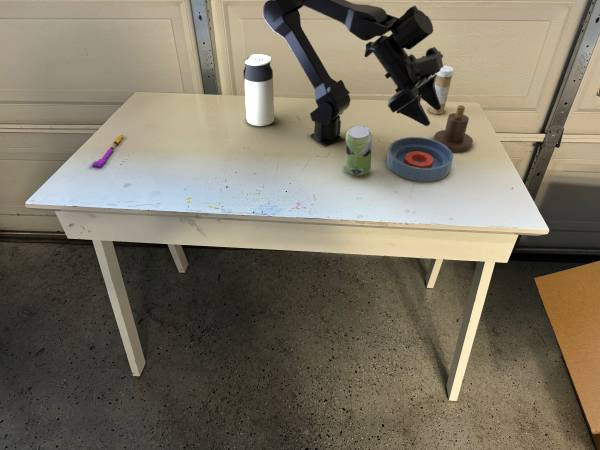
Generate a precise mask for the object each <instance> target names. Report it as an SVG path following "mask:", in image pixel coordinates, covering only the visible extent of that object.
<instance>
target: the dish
mask: <svg viewBox="0 0 600 450" xmlns="http://www.w3.org/2000/svg"><path fill="white" fill-rule="evenodd" d="M414 151H420V152H424V153H428V154H429V155H430V156H431V157H432V158H433V159H434V162H433V165H432V167H431V168H418V167H413V166H409V165H406V164H404V158H405V156H406V155H407V153H409V152H414ZM453 159H454V154H453V152H451V150H450V149H449V148H448V147H447V146H445V145H444V144H442V143H440V142H438V141H435V140H434V139H431V138H426V137H422V136H408V137H407V136H406V137H401V138H399V139H396V140H394V141H393V142H391V143H390V145H389V146H388V149H387V155H386V165H387V167H388V168H389V169H390V171H392V172H393V173H395V174H396V175H398V176H399V177H402V178H405V179H406V180H407V179H408V180H411V181H417V182H432V181H439V180H440V179H443V178H445V177H446V176H447V175H448V174H449V173H450V172H451V168H452V164H453V161H454V160H453ZM414 161H416V162H424V161H421V160H414Z"/></svg>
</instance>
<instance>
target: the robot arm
mask: <svg viewBox="0 0 600 450" xmlns="http://www.w3.org/2000/svg"><path fill="white" fill-rule="evenodd" d="M303 7H306V8H308V9H311V10H312V11H315V12H317V13H319V14H321V15H324V16H326V17H329V19H332V20H334V21H336V22H339V23H341V24H342V25H344V26H345V27H346V29H347V30H348V32H350V34H352V35H354V36H355V37H357V39H359V40H361V41H364V42H366V41H368V42H367V43H366V44H365V50H364V57H365V58H368V57H369V56H370V55H372V54H373V55H374V57H376V59H377V60H378V62H379V63H380V65H381V66H382V68H383V69H384V70H385V72H386V73H385V74H384V77H385V78H386V80H388V79H391V81H392V83H394V85H395V86H396V89H395V90H394V91H395V94H393V95H392V96H391V97H390V99H388V103H387V107H388V108H389V110H390V111H391V112H392V113H393V114H394V113H395V112H396V114H401V115H403V116H405V117H407V118H409V119H411V120H414V121H415V122H417V123H418V124H421V125H423V126H425V127H428V126H430V125H431V121H430V119H429V117H428V115H427V113H426V111H425V110H424V107H423V105H422V104H421V99H422V101H424V102H425V103H426V104H428V105H429V106H432V107H433V108H434V109H436V110H439V109H441V105H440V102H439V99H438V96H437V93H436V89H435V81H436V77H437V74H436V73H438V72H439V71H440V69H441V68H442V67H443V66H444V63H443V58H444V54H442V53H441V50H438V49H437V47H435V46H433V47H429V48H428V49H427V50H426V52H425V55H422V56H421V57H418V58H417V57H416V56H415V55H414V54H412V53H410V54H409V55H408V52H407V51H406V50H412V49H413V48H414V47H416V46H417V45H419V44H420V43H421V42H423V41H424V40H425V39H427V38H428V37H429V36H431V35H432V34H433V32H434V26H433V22H432V20H431V19H430V17H429V16H428V15H426V13H424V12H423V11H422V10H420V9H418V6H416V5H412V6H410V7H409V8H408V9H407V10H406V11H405V12H404V13H403V14H402V15H401V16H400V17H397V16H394V15H391V14H388V13H387V11H386V10H385V9H384V8H382V7H380V6H375V5H371V4H362V3H361V4H360V3H359V4H358V3H353V2H350V1H348V0H267V1H265V3H264V5H263V8H262V17H263V19H264V21H265V22H266V23H267V25H268V26H269V27H270V28H271V30H272V31H273V32H274V33H276V34H277V35H279V36H281V38H283V39H284V40H285V42H286V43H287V45H288V46H289V48H290V50H291V52H292V53H293V56H294V57H295V59H296V60H297V62H298V63H299V65H300V67H301V69H302V70H303V72H304V74H305V75H306V77H307V79H308V80H309V83H311V85H312V87H313V90H314V98H315V99H314V100H315V103H316V105H317V107H316V108H315V109H313V111H311V112H310V113H309V115H310V119H311V121H312V122H314V127H313V128H314V131H313V133H311V134H310V137H311V138H313V140H315V141H317V142H318V143H319V144H321V145H322V146H326V145H329V144H333V143H336V142H339V141H342V140H343V136H341V126H342V121H341V115H343V114H344V112H345V111H346V110H347V109H348V108H349V107H350V105H351V97H350V93H351V92H350V91H349V90H348V88H347V87H346V85H345V83H344V81H343V80H342V79H339V80H338V81H337V80H334V79H333V78H332V77H331V75H330V73H328V71H327V69H326V67H325V65H324V64H323V62H322V60H321V59H320V57H319V56H318V54H317V51H316V50H315V49H314V47H313V45H312V43H311V41H310V40H309V38H308V36H307V35H306V33H305V32H304V29H303V28H302V24H301V23H302V21H301V13H300V11H299V10H300V9H301V8H303ZM389 32H391V34H389V36H387V35H386V34H387V33H389ZM375 37H376V38H377V37H378V38H377V39H376V40H374V41H370V40H372V39H374V38H375Z"/></svg>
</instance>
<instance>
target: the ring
mask: <svg viewBox="0 0 600 450" xmlns="http://www.w3.org/2000/svg"><path fill="white" fill-rule="evenodd" d="M414 160H421V161H424V162H416V161H414ZM433 162H434V159H433V158H432V157H431V156H430V155H429V154H428V153H424V152H420V151H414V152H409V153H407V155H406V156H405V158H404V164H406V165H409V166H413V167H418V168H431V167H432V165H433Z"/></svg>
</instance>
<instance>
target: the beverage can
mask: <svg viewBox="0 0 600 450" xmlns="http://www.w3.org/2000/svg"><path fill="white" fill-rule="evenodd" d="M372 143H373V135H372V132H371V131H370V128H369V127H368V126H366V125H363V124H356V125H353V126H351V127H349V129H348V131H347V132H346V133H345V169H346V171H347V173H349V174H350V175H353V176H364V175H366V174H368V173H369V172H370V171H371V168H372V147H373V144H372Z"/></svg>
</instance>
